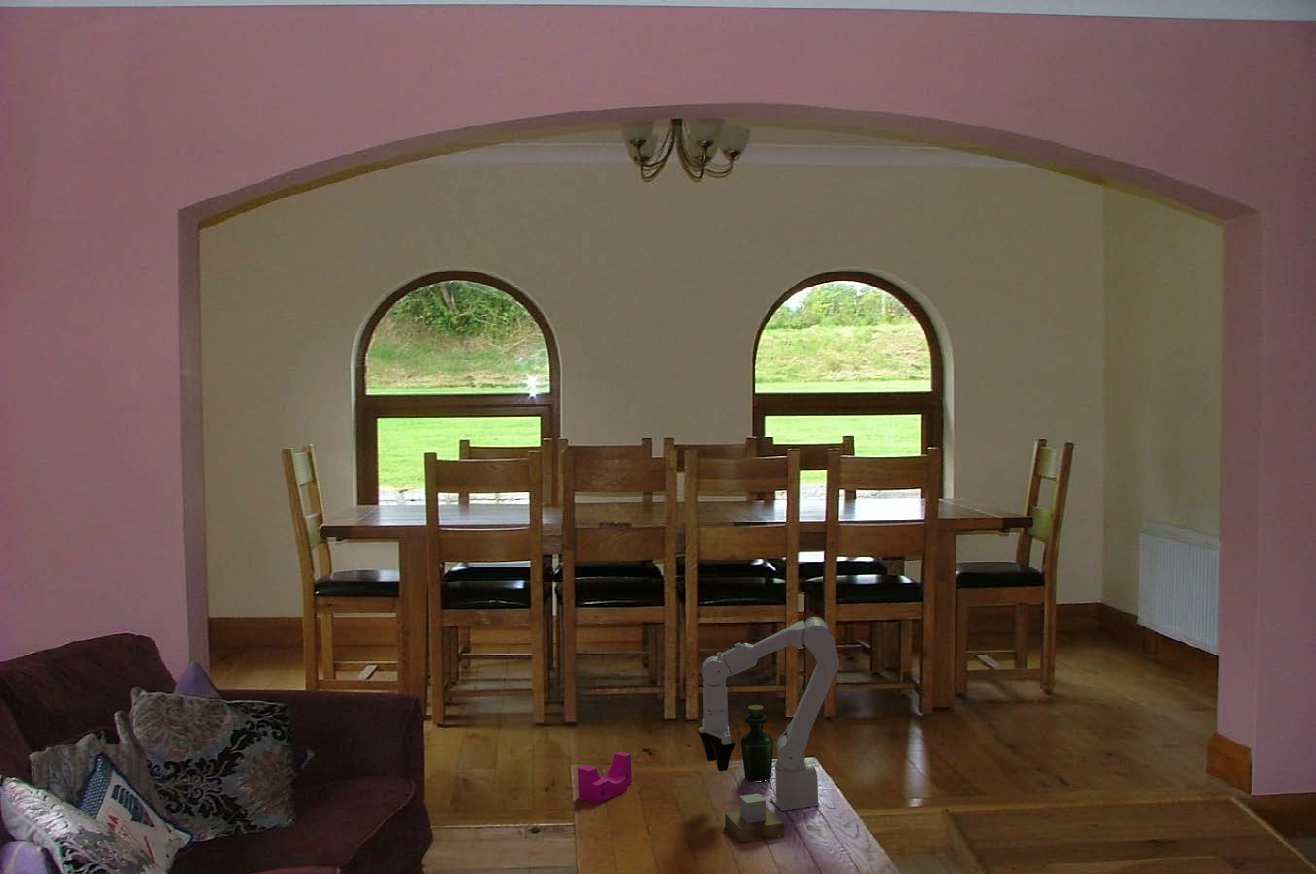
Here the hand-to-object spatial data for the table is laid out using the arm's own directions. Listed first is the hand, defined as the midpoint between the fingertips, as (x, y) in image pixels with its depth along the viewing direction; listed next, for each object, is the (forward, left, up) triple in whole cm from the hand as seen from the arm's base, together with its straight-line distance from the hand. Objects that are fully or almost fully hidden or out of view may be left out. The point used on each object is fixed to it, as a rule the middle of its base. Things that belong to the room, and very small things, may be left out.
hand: (717, 765), depth 284 cm
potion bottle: (-15, -13, -10) cm, 22 cm away
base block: (-2, +18, -9) cm, 20 cm away
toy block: (+22, -18, -10) cm, 30 cm away
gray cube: (-2, +18, -6) cm, 19 cm away
